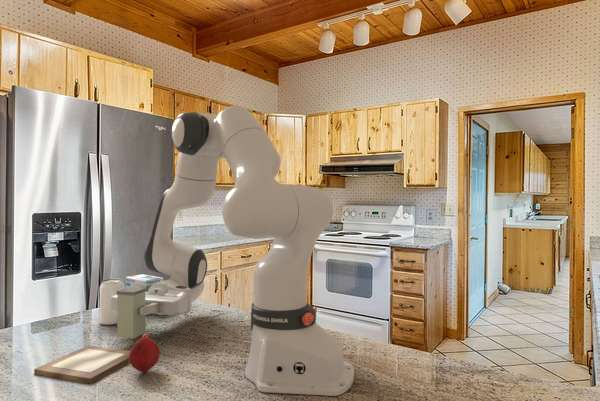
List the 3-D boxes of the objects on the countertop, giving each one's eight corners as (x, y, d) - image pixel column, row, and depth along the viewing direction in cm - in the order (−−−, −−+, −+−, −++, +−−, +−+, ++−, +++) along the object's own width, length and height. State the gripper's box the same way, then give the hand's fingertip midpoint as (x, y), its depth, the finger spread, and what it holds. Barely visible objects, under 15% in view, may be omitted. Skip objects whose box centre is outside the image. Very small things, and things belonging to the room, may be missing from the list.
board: (138, 356, 91) (138, 351, 91) (90, 383, 78) (90, 378, 78) (88, 349, 95) (88, 344, 95) (34, 374, 82) (34, 368, 82)
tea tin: (146, 332, 100) (146, 288, 100) (133, 338, 96) (133, 292, 96) (130, 330, 102) (130, 287, 102) (116, 336, 97) (116, 291, 97)
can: (114, 326, 113) (114, 283, 112) (94, 324, 114) (94, 282, 114) (128, 319, 119) (129, 278, 119) (109, 318, 120) (109, 277, 120)
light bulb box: (164, 310, 129) (164, 277, 128) (146, 316, 123) (146, 280, 123) (142, 305, 134) (143, 273, 134) (124, 310, 129) (124, 276, 129)
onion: (141, 381, 79) (141, 340, 79) (123, 374, 82) (123, 335, 82) (165, 371, 84) (165, 332, 84) (147, 364, 87) (147, 327, 87)
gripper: (131, 284, 114) (94, 295, 101) (196, 288, 108) (165, 300, 95) (131, 306, 114) (94, 320, 101) (196, 311, 108) (165, 327, 95)
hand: (129, 310), depth 98 cm, fingers closed on tea tin, 4 cm apart
